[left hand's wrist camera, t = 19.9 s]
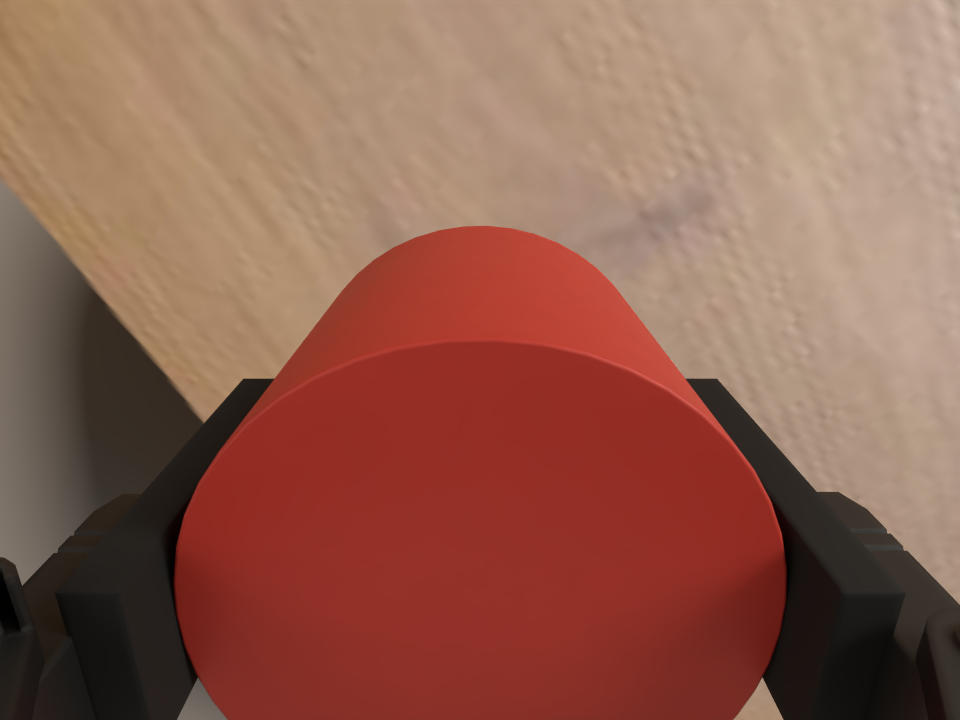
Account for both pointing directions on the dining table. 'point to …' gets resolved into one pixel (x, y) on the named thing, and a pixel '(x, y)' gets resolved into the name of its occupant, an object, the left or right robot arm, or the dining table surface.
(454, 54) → the dining table surface
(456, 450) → the canister
